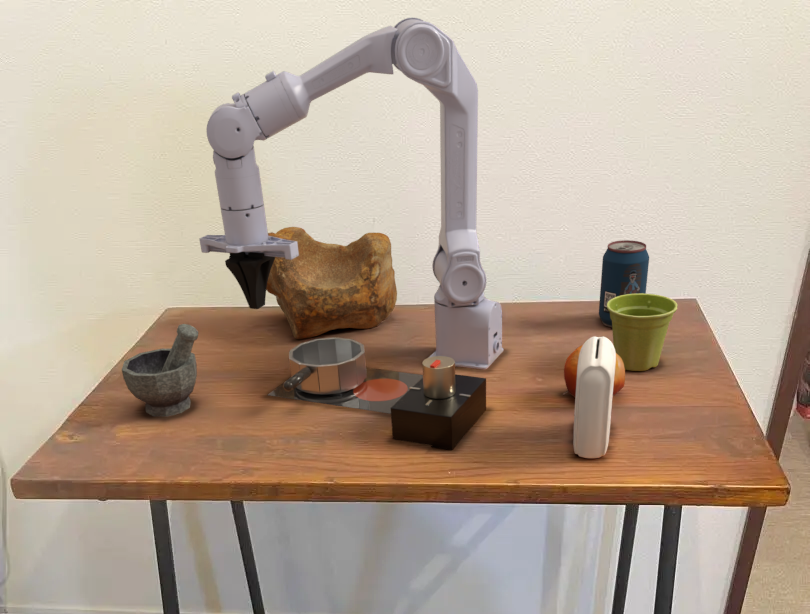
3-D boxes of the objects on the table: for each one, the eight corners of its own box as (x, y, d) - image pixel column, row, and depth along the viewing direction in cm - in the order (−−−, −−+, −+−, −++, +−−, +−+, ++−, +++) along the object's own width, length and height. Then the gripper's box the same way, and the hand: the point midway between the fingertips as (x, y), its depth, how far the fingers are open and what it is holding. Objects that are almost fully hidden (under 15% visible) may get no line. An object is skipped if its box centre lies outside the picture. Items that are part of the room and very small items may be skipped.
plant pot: (672, 377, 120) (679, 316, 115) (601, 375, 122) (606, 315, 117) (668, 352, 128) (675, 293, 123) (603, 350, 129) (607, 292, 125)
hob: (267, 396, 122) (267, 394, 122) (313, 362, 132) (313, 360, 132) (403, 417, 114) (403, 415, 114) (441, 379, 124) (441, 377, 124)
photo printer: (575, 420, 111) (581, 326, 104) (610, 422, 110) (618, 327, 103) (570, 459, 102) (575, 359, 96) (607, 461, 102) (615, 360, 95)
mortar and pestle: (121, 422, 118) (99, 337, 111) (149, 393, 125) (130, 312, 119) (199, 425, 116) (182, 338, 109) (223, 395, 123) (208, 312, 117)
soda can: (615, 311, 143) (621, 236, 136) (651, 320, 139) (659, 243, 132) (589, 323, 139) (594, 246, 133) (625, 333, 135) (632, 254, 128)
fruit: (574, 366, 121) (603, 325, 115) (613, 407, 119) (644, 367, 113) (538, 385, 117) (566, 343, 110) (578, 427, 115) (608, 387, 108)
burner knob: (431, 384, 111) (429, 352, 109) (460, 387, 110) (459, 355, 108) (418, 396, 108) (416, 363, 106) (448, 400, 107) (447, 367, 105)
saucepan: (316, 364, 130) (312, 334, 128) (379, 372, 126) (376, 341, 124) (256, 409, 118) (250, 377, 115) (324, 420, 114) (320, 387, 111)
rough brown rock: (242, 351, 139) (228, 259, 130) (267, 308, 152) (255, 221, 143) (387, 355, 137) (382, 261, 127) (399, 310, 150) (396, 222, 140)
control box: (429, 401, 118) (428, 369, 115) (487, 410, 115) (487, 376, 112) (391, 440, 109) (389, 406, 106) (452, 450, 106) (451, 415, 103)
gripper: (179, 210, 115) (198, 311, 122) (272, 215, 109) (286, 320, 117) (210, 198, 120) (226, 295, 128) (301, 202, 115) (312, 304, 122)
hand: (257, 306), depth 123 cm, fingers closed
